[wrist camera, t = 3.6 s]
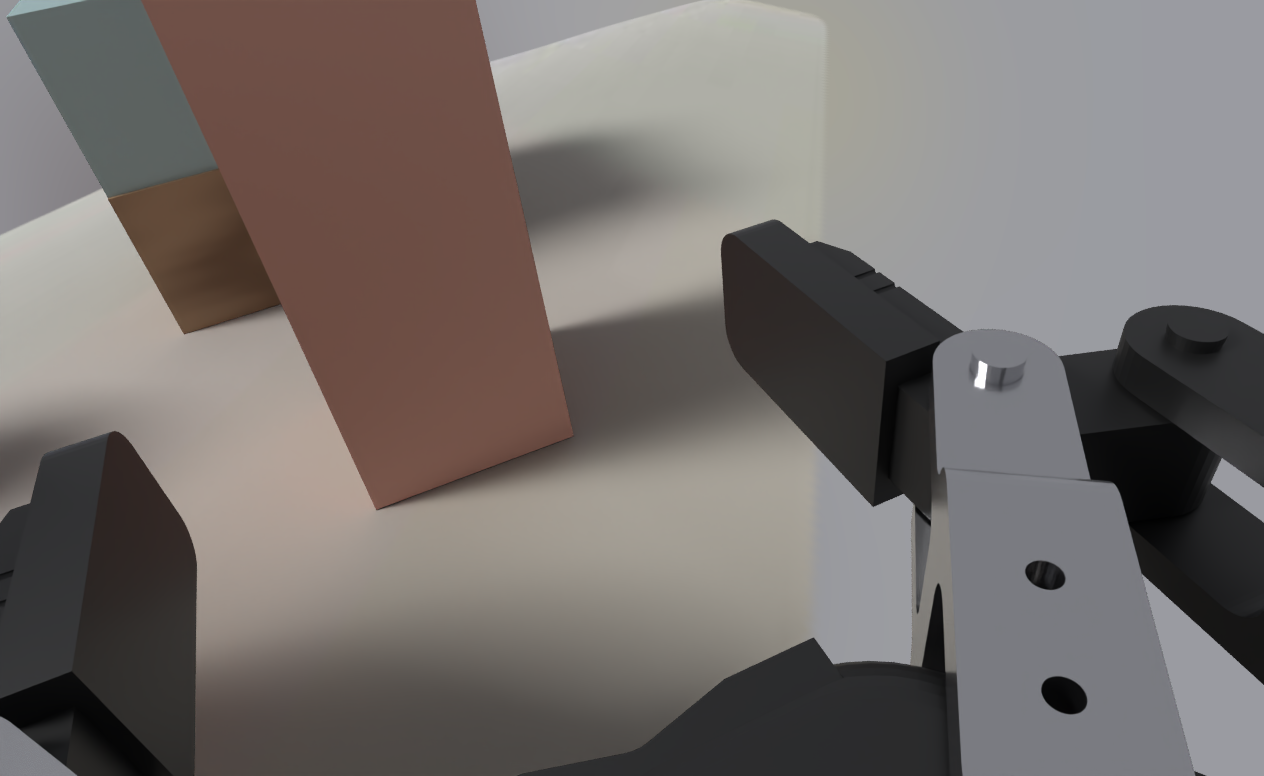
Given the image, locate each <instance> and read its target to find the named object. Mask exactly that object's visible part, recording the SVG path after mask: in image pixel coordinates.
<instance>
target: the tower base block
mask: <svg viewBox="0 0 1264 776" xmlns="http://www.w3.org/2000/svg"><path fill="white" fill-rule="evenodd" d="M108 200H109V202H110V204H111V206H112V207H113V209H114V211H115V213H116V214H117V216H118V218H119V220H120V222H121V223H122V225H123V227H124V229H125V230H126V232H127V234H128V236H129V238H130V239H131V241H132V243H133V245H134V246H135V248H136V250H137V252H138V253H139V255H140V257H141V259H142V261H143V262H144V264H145V266H146V268H147V269H148V271H149V273H150V275H151V277H152V278H153V280H154V282H155V284H156V285H157V287H158V289H159V291H160V293H161V294H162V296H163V298H164V300H165V301H166V303H167V305H168V307H169V309H170V310H171V312H172V314H173V316H174V317H175V319H176V321H177V323H178V324H179V326H180V328H181V330H182V332H183V333H184V334H186V333H190V332H193V331H196V330H199V329H202V328H205V327H209V326H212V325H215V324H218V323H221V322H225V321H228V320H231V319H234V318H237V317H241V316H244V315H247V314H250V313H253V312H257V311H260V310H263V309H266V308H269V307H273V306H276V305H279V304H281V302H280V300H279V298H278V296H277V294H276V292H275V289H274V287H273V285H272V283H271V281H270V279H269V276H268V274H267V272H266V270H265V268H264V266H263V263H262V261H261V259H260V257H259V255H258V253H257V250H256V248H255V246H254V244H253V242H252V240H251V237H250V235H249V233H248V231H247V229H246V227H245V224H244V222H243V220H242V218H241V216H240V214H239V211H238V209H237V207H236V205H235V203H234V201H233V198H232V196H231V194H230V192H229V190H228V188H227V185H226V183H225V181H224V179H223V177H222V175H221V172H220V170H219V168H218V169H214V170H210V171H207V172H203V173H199V174H195V175H192V176H188V177H184V178H180V179H177V180H173V181H169V182H166V183H162V184H158V185H154V186H151V187H147V188H143V189H139V190H136V191H132V192H128V193H124V194H121V195H117V196H113V197H110V198H108Z"/></svg>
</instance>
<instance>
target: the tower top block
mask: <svg viewBox="0 0 1264 776" xmlns="http://www.w3.org/2000/svg"><path fill="white" fill-rule="evenodd" d="M7 19H8V21H9V23H10V25H11V26H12V28H13V30H14V32H15V33H16V35H17V37H18V38H19V41H20V42H21V44H22V46H23V48H24V49H25V51H26V53H27V55H28V57H29V58H30V60H31V62H32V64H33V65H34V67H35V69H36V71H37V73H38V74H39V76H40V78H41V80H42V81H43V83H44V85H45V87H46V89H47V90H48V92H49V94H50V96H51V97H52V99H53V101H54V102H55V104H56V106H57V108H58V110H59V112H60V113H61V115H62V117H63V119H64V121H65V122H66V124H67V126H68V128H69V129H70V131H71V133H72V135H73V136H74V138H75V140H76V142H77V143H78V145H79V147H80V149H81V151H82V153H83V154H84V156H85V158H86V160H87V161H88V163H89V165H90V167H91V169H92V170H93V172H94V174H95V176H96V177H97V179H98V181H99V183H100V185H101V186H102V188H103V190H104V192H105V193H106V195H107V197H108V198H110V197H113V196H117V195H121V194H124V193H128V192H132V191H136V190H139V189H143V188H147V187H151V186H154V185H158V184H162V183H166V182H169V181H173V180H177V179H180V178H184V177H188V176H192V175H195V174H199V173H203V172H207V171H210V170H214V169H218V166H217V164H216V162H215V159H214V157H213V155H212V153H211V151H210V149H209V146H208V144H207V142H206V140H205V138H204V136H203V133H202V131H201V129H200V127H199V125H198V123H197V120H196V118H195V116H194V114H193V112H192V110H191V107H190V105H189V103H188V101H187V99H186V97H185V95H184V92H183V90H182V88H181V86H180V84H179V82H178V79H177V77H176V75H175V73H174V71H173V69H172V66H171V64H170V62H169V60H168V58H167V56H166V53H165V51H164V49H163V47H162V45H161V43H160V40H159V38H158V36H157V34H156V32H155V30H154V27H153V25H152V23H151V21H150V19H149V17H148V14H147V12H146V10H145V8H144V6H143V4H142V1H141V0H20V1H19V2H18V3H17V5H16V6H15V7H14V9H13V10H12V11H11V12H10V13H9V15H8V16H7Z"/></svg>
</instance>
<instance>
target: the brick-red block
mask: <svg viewBox="0 0 1264 776" xmlns="http://www.w3.org/2000/svg"><path fill="white" fill-rule="evenodd" d="M141 1H142V4H143V6H144V8H145V10H146V12H147V14H148V17H149V19H150V21H151V23H152V25H153V27H154V30H155V32H156V34H157V36H158V38H159V40H160V43H161V45H162V47H163V49H164V51H165V53H166V56H167V58H168V60H169V62H170V64H171V66H172V69H173V71H174V73H175V75H176V77H177V79H178V82H179V84H180V86H181V88H182V90H183V92H184V95H185V97H186V99H187V101H188V103H189V105H190V107H191V110H192V112H193V114H194V116H195V118H196V120H197V123H198V125H199V127H200V129H201V131H202V133H203V136H204V138H205V140H206V142H207V144H208V146H209V149H210V151H211V153H212V155H213V157H214V159H215V162H216V164H217V166H218V168H219V170H220V172H221V175H222V177H223V179H224V181H225V183H226V185H227V188H228V190H229V192H230V194H231V196H232V198H233V201H234V203H235V205H236V207H237V209H238V211H239V214H240V216H241V218H242V220H243V222H244V224H245V227H246V229H247V231H248V233H249V235H250V237H251V240H252V242H253V244H254V246H255V248H256V250H257V253H258V255H259V257H260V259H261V261H262V263H263V266H264V268H265V270H266V272H267V274H268V276H269V279H270V281H271V283H272V285H273V287H274V289H275V292H276V294H277V296H278V298H279V300H280V302H281V305H282V307H283V309H284V311H285V313H286V315H287V318H288V320H289V322H290V324H291V326H292V328H293V331H294V333H295V335H296V337H297V339H298V341H299V344H300V346H301V348H302V350H303V352H304V354H305V357H306V359H307V361H308V363H309V365H310V367H311V370H312V372H313V374H314V376H315V378H316V380H317V383H318V385H319V387H320V389H321V391H322V393H323V396H324V398H325V400H326V402H327V404H328V406H329V409H330V411H331V413H332V415H333V417H334V419H335V422H336V424H337V426H338V428H339V430H340V432H341V435H342V437H343V439H344V441H345V443H346V445H347V447H348V450H349V452H350V454H351V456H352V458H353V460H354V463H355V465H356V467H357V469H358V471H359V473H360V476H361V478H362V480H363V482H364V484H365V486H366V489H367V491H368V493H369V495H370V497H371V499H372V502H373V504H374V506H375V508H376V510H377V509H380V508H382V507H385V506H388V505H390V504H393V503H396V502H398V501H401V500H404V499H406V498H409V497H412V496H414V495H417V494H420V493H422V492H425V491H428V490H431V489H433V488H436V487H439V486H441V485H444V484H447V483H449V482H452V481H455V480H457V479H460V478H463V477H465V476H468V475H471V474H473V473H476V472H479V471H481V470H484V469H487V468H489V467H492V466H495V465H497V464H500V463H503V462H505V461H508V460H511V459H513V458H516V457H519V456H522V455H524V454H527V453H530V452H532V451H535V450H538V449H540V448H543V447H546V446H548V445H551V444H554V443H556V442H559V441H562V440H564V439H567V438H570V437H572V436H574V435H573V430H572V426H571V422H570V417H569V413H568V408H567V404H566V399H565V395H564V391H563V386H562V382H561V377H560V373H559V368H558V364H557V359H556V355H555V351H554V346H553V342H552V337H551V333H550V328H549V324H548V320H547V315H546V311H545V306H544V302H543V297H542V293H541V289H540V284H539V280H538V275H537V271H536V266H535V262H534V257H533V253H532V249H531V244H530V240H529V235H528V231H527V226H526V222H525V218H524V213H523V209H522V204H521V200H520V195H519V191H518V187H517V182H516V178H515V173H514V169H513V164H512V160H511V156H510V151H509V147H508V142H507V138H506V133H505V129H504V124H503V120H502V116H501V111H500V107H499V102H498V98H497V93H496V89H495V85H494V80H493V76H492V71H491V67H490V62H489V58H488V54H487V50H486V45H485V40H484V36H483V31H482V27H481V23H480V18H479V14H478V9H477V5H476V0H141Z"/></svg>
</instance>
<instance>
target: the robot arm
mask: <svg viewBox="0 0 1264 776" xmlns="http://www.w3.org/2000/svg"><path fill="white" fill-rule="evenodd" d="M721 260H722V276H723V293H724V309H725V325H726V332H727V337H728V340H729V344H730V346H731V349H732V351H733V353H734V355H735V357H736V359H737V361H738V362H739V364H740V365H741V366H742V367H743V369H744V370H745V371H746V372H747V373H748V374H749V375H750V376H751V377H752V378H753V379H754V380H755V381H756V382H757V384H758V385H759V386H760V387H761V388H762V389H763V390H764V391H765V392H766V393H767V394H768V395H769V396H770V397H771V399H772V400H773V401H774V402H775V403H776V404H777V405H778V406H779V407H780V408H781V409H782V410H783V411H784V412H785V413H786V415H787V416H788V417H789V418H790V419H791V420H792V421H793V422H794V423H795V424H796V425H797V426H798V427H799V428H800V429H801V431H802V432H803V433H804V434H805V435H806V436H807V437H808V438H809V439H810V440H811V441H812V442H813V443H814V444H815V445H816V447H817V448H818V449H819V450H820V451H821V452H822V453H823V454H824V455H825V456H826V457H827V458H828V459H829V460H830V461H831V462H832V464H833V465H834V466H835V467H836V468H837V469H838V470H839V471H840V472H841V473H842V474H843V475H844V476H845V478H846V479H847V480H848V481H849V482H850V483H851V484H852V485H853V486H854V487H855V488H856V489H857V490H858V491H859V492H860V494H861V495H863V497H864V498H865V499H866V500H867V501H868V502H869V503H870V504H871V505H872V506H873V507H874V506H876V505H879V504H881V503H883V502H885V501H888V500H890V499H893V498H895V497H897V496H899V495H902V494H905V496H906V497H907V498H909V500H910V501H911V502H913V512H912V520H911V545H912V546H911V547H912V549H911V550H912V551H911V553H912V649H911V650H912V651H911V662H910V663H911V664H910V665H907V664H900V663H895V662H878V661H862V662H846V663H840V664H832V662H831V661H830V659H829V658H828V657H827V655H826V654H825V652H824V651H823V650H822V648H821V647H820V645H819V644H818V643H817V641H816V640H815V639H814V638H812V639H809V640H807V641H805V642H803V643H801V644H799V645H797V646H794V647H792V648H790V649H788V650H786V651H784V652H781V653H779V654H777V655H775V656H773V657H771V658H769V659H766V660H764V661H762V662H760V663H758V664H756V665H754V666H751V667H749V668H747V669H745V670H743V671H741V672H739V673H736V674H734V675H732V676H730V677H728V678H726V679H724V680H723V681H722V682H720V683H719V684H718V685H717V686H715V687H714V688H713V689H712V690H711V691H709V692H708V693H707V694H706V695H705V696H703V697H702V698H701V699H700V700H699V701H697V702H696V703H695V704H694V705H692V706H691V707H690V708H689V709H688V710H686V711H685V712H684V713H683V714H682V715H680V716H679V717H678V718H677V719H676V720H674V721H673V722H672V723H671V724H670V725H668V726H667V727H666V728H665V729H663V730H662V731H661V732H660V733H659V734H657V735H656V736H655V737H654V738H653V739H651V740H650V741H649V742H648V743H646V744H645V745H644V746H642V747H641V748H639V749H636V750H634V751H632V752H628V753H624V754H619V755H614V756H609V757H604V758H599V759H594V760H589V761H584V762H579V763H574V764H569V765H564V766H558V767H553V768H548V769H543V770H538V771H533V772H528V773H523V774H520V775H518V776H1205V775H1203V774H1200V773H1198V772H1195V771H1194V770H1193V765H1192V761H1191V758H1190V754H1189V750H1188V747H1187V743H1186V739H1185V735H1184V731H1183V728H1182V724H1181V720H1180V717H1179V713H1178V709H1177V705H1176V702H1175V698H1174V694H1173V690H1172V686H1171V683H1170V679H1169V675H1168V671H1167V668H1166V664H1165V660H1164V657H1163V653H1162V649H1161V645H1160V641H1159V638H1158V634H1157V630H1156V626H1155V623H1154V619H1153V615H1152V611H1151V608H1150V604H1149V600H1148V596H1147V592H1146V589H1145V585H1144V581H1143V577H1142V574H1143V575H1144V576H1145V577H1146V578H1147V579H1148V580H1149V581H1150V582H1152V583H1153V584H1154V585H1155V586H1156V587H1157V588H1158V589H1160V591H1161V592H1162V593H1164V594H1165V595H1166V596H1167V597H1168V598H1169V599H1170V600H1171V601H1172V602H1173V603H1174V604H1176V605H1177V606H1178V607H1179V608H1180V609H1181V610H1182V611H1183V612H1184V613H1186V614H1187V615H1188V616H1189V617H1190V618H1191V619H1192V620H1193V621H1194V622H1195V623H1196V624H1198V625H1199V626H1200V627H1201V628H1202V629H1203V630H1204V631H1205V632H1206V633H1207V634H1209V635H1210V636H1211V637H1212V638H1213V639H1214V640H1215V641H1216V642H1217V643H1218V644H1220V645H1221V646H1222V647H1223V648H1224V649H1225V650H1226V651H1227V652H1228V653H1230V655H1232V656H1233V657H1234V658H1235V659H1236V660H1237V661H1238V662H1239V663H1240V664H1241V665H1243V666H1244V667H1245V668H1246V669H1247V670H1248V671H1249V672H1250V673H1251V674H1253V675H1254V676H1255V677H1256V678H1257V679H1258V680H1259V681H1260V682H1261V683H1262V684H1263V685H1264V523H1263V522H1262V521H1261V520H1259V519H1258V518H1257V517H1255V516H1254V515H1253V514H1251V513H1250V512H1249V511H1247V510H1246V509H1245V508H1243V507H1242V506H1241V505H1239V504H1238V503H1237V502H1235V501H1234V500H1233V499H1231V498H1230V497H1229V496H1227V495H1226V494H1225V493H1223V492H1222V491H1221V490H1219V489H1218V488H1217V487H1215V486H1213V485H1212V484H1211V481H1212V478H1213V476H1214V474H1215V472H1216V470H1217V467H1218V465H1219V463H1220V461H1221V458H1223V459H1224V460H1226V461H1227V462H1229V463H1230V464H1232V465H1233V466H1234V467H1236V468H1237V469H1238V470H1240V471H1241V472H1243V473H1244V474H1246V475H1247V476H1248V477H1250V478H1251V479H1253V480H1254V481H1255V482H1257V483H1258V484H1260V485H1261V486H1262V487H1264V334H1262V333H1261V332H1259V331H1257V330H1255V329H1254V328H1252V327H1250V326H1248V325H1246V324H1245V323H1243V322H1241V321H1239V320H1237V319H1235V318H1233V317H1230V316H1228V315H1225V314H1222V313H1219V312H1216V311H1212V310H1209V309H1204V308H1198V307H1191V306H1178V305H1172V306H1171V305H1170V306H1158V307H1152V308H1148V309H1145V310H1142V311H1140V312H1138V313H1136V314H1134V315H1133V316H1131V317H1130V318H1129V319H1128V320H1127V322H1126V324H1125V326H1124V329H1123V332H1122V336H1121V339H1120V342H1119V345H1118V349H1113V350H1105V351H1097V352H1089V353H1082V354H1073V355H1066V356H1058V355H1057V354H1056V353H1055V352H1054V351H1052V349H1051V348H1049V347H1048V346H1046V345H1045V344H1043V343H1041V342H1040V341H1037V340H1036V339H1033V338H1031V337H1028V336H1025V335H1022V334H1019V333H1015V332H1010V331H1005V330H996V329H980V330H971V331H967V332H963V331H961V330H960V329H958V328H957V327H956V326H954V325H953V324H952V323H950V322H949V321H947V320H946V319H944V318H943V317H942V316H940V315H939V314H937V313H936V312H935V311H933V310H932V309H930V308H929V307H928V306H926V305H925V304H923V303H922V302H921V301H919V300H918V299H916V298H915V297H914V296H912V295H911V294H909V293H908V292H906V291H905V290H904V289H902V288H901V287H897V288H896V287H895V284H894V282H892V281H891V280H890V279H888V278H887V277H885V276H884V275H882V274H881V273H876V272H875V269H874V268H873V267H871V266H870V265H868V264H867V263H866V262H864V261H863V260H861V259H860V258H859V257H857V256H856V255H854V254H853V253H851V252H849V251H846V250H843V249H840V248H837V247H834V246H831V245H828V244H825V243H822V242H818V241H816V242H813V243H808V242H807V241H806V240H804V239H803V238H802V237H800V236H799V235H798V234H796V233H795V232H794V231H792V230H791V229H790V228H788V227H787V226H786V225H784V224H783V223H782V222H780V221H778V220H770V221H767V222H764V223H760V224H757V225H754V226H751V227H748V228H745V229H742V230H739V231H736V232H733V233H730V234H727V235H725V237H724V238H723V240H722V244H721ZM1141 573H1142V574H1141ZM196 592H197V562H196V555H195V550H194V546H193V543H192V540H191V537H190V534H189V532H188V530H187V527H186V525H185V523H184V522H183V520H182V518H181V516H180V515H179V513H178V512H177V510H176V509H175V508H174V506H173V505H172V503H171V502H170V500H169V499H168V497H167V496H166V494H165V493H164V491H163V490H162V489H161V487H160V486H159V484H158V483H157V481H156V480H155V478H154V477H153V475H152V474H151V472H150V471H149V469H148V468H147V467H146V465H145V464H144V462H143V461H142V459H141V458H140V456H139V455H138V453H137V452H136V450H135V449H134V447H133V446H132V445H131V443H130V442H129V441H128V440H127V439H126V437H124V436H123V435H122V434H121V433H119V432H116V431H113V432H110V433H107V434H103V435H100V436H97V437H94V438H91V439H88V440H85V441H82V442H79V443H76V444H73V445H69V446H66V447H63V448H60V449H57V450H54V451H51V452H48V453H46V454H44V456H43V457H42V460H41V462H40V466H39V470H38V474H37V478H36V483H35V487H34V491H33V495H32V499H31V503H30V504H27V505H24V506H21V507H18V508H15V509H12V510H10V511H9V512H8V514H7V515H6V516H5V518H4V519H3V520H2V522H1V523H0V776H194V756H195V674H196Z"/></svg>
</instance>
